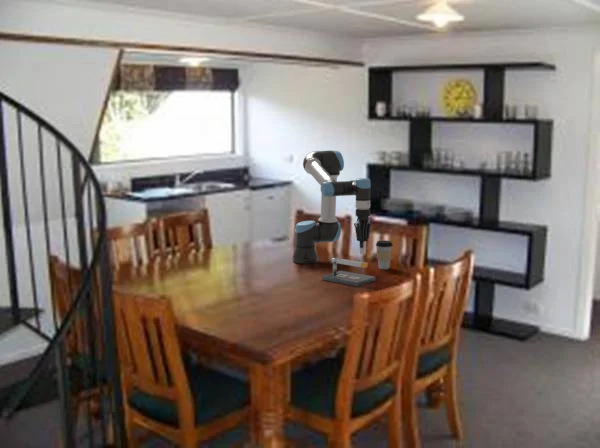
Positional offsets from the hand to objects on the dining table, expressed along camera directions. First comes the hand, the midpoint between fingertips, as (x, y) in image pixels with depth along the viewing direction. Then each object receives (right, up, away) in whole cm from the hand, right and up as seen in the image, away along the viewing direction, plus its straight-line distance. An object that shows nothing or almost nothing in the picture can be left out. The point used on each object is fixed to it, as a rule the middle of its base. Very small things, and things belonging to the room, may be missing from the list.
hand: (362, 253), depth 343 cm
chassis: (-7, -14, 0) cm, 15 cm away
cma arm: (-7, -6, -1) cm, 9 cm away
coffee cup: (+14, -10, +27) cm, 32 cm away
